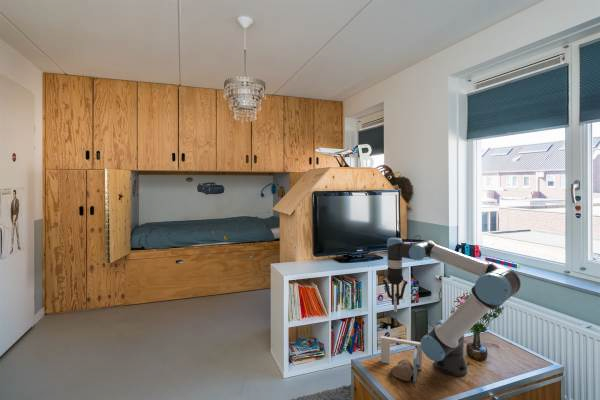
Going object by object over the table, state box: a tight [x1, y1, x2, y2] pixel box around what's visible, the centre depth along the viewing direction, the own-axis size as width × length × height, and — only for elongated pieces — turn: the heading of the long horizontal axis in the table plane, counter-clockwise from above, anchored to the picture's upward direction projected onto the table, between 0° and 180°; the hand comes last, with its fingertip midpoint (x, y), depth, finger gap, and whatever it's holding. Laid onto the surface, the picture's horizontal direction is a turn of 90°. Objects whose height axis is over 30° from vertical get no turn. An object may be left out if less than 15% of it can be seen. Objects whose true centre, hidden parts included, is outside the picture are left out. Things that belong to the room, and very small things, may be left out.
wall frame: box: [380, 335, 423, 371], centre depth 159 cm, size 20×2×13 cm, turn 68°
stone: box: [390, 359, 413, 382], centre depth 150 cm, size 12×9×10 cm
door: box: [412, 346, 420, 383], centre depth 151 cm, size 13×3×12 cm, turn 156°
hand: (395, 310), depth 165 cm, fingers closed
